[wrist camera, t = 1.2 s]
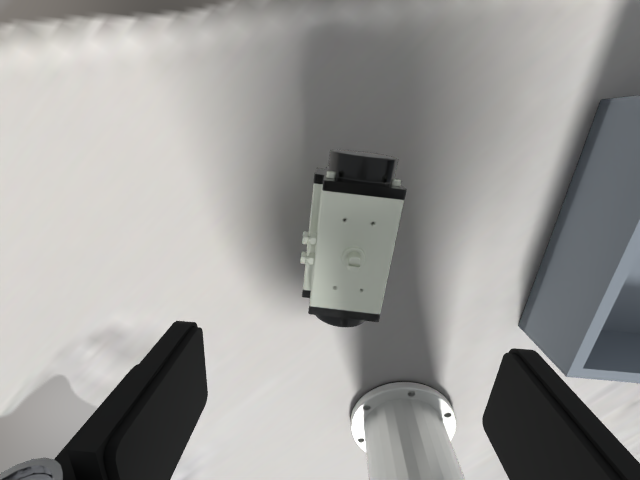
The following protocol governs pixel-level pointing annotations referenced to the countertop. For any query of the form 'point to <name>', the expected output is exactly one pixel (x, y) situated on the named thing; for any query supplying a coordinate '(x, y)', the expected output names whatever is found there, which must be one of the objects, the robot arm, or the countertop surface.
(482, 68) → the countertop surface
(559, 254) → the parts bin
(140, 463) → the robot arm
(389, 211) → the pneumatic valve
